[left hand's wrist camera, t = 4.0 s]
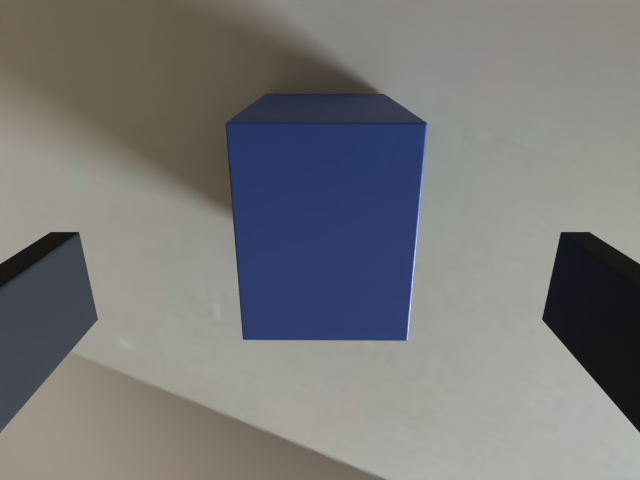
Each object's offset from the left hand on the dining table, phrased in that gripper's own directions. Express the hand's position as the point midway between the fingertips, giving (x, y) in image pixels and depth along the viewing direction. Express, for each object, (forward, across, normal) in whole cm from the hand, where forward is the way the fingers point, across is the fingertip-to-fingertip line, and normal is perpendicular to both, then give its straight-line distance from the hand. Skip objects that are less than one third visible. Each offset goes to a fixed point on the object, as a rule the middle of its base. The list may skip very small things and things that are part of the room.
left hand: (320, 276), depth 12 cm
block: (+11, 0, +1) cm, 11 cm away
